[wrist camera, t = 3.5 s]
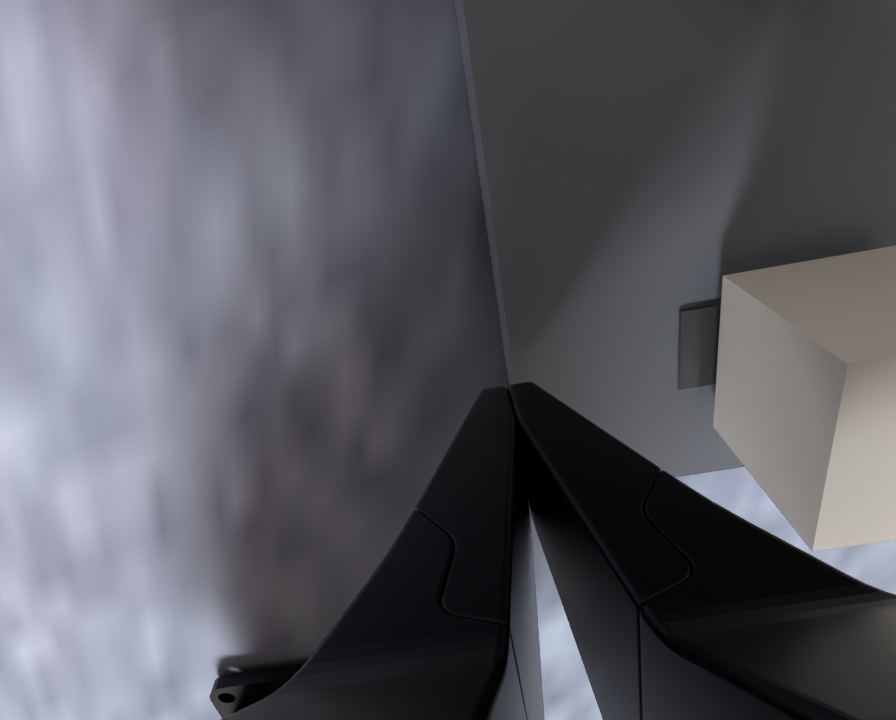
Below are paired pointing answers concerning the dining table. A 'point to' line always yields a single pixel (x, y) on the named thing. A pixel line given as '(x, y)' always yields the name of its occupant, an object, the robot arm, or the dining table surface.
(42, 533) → the dining table surface
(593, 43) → the switch panel
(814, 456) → the beige cube
